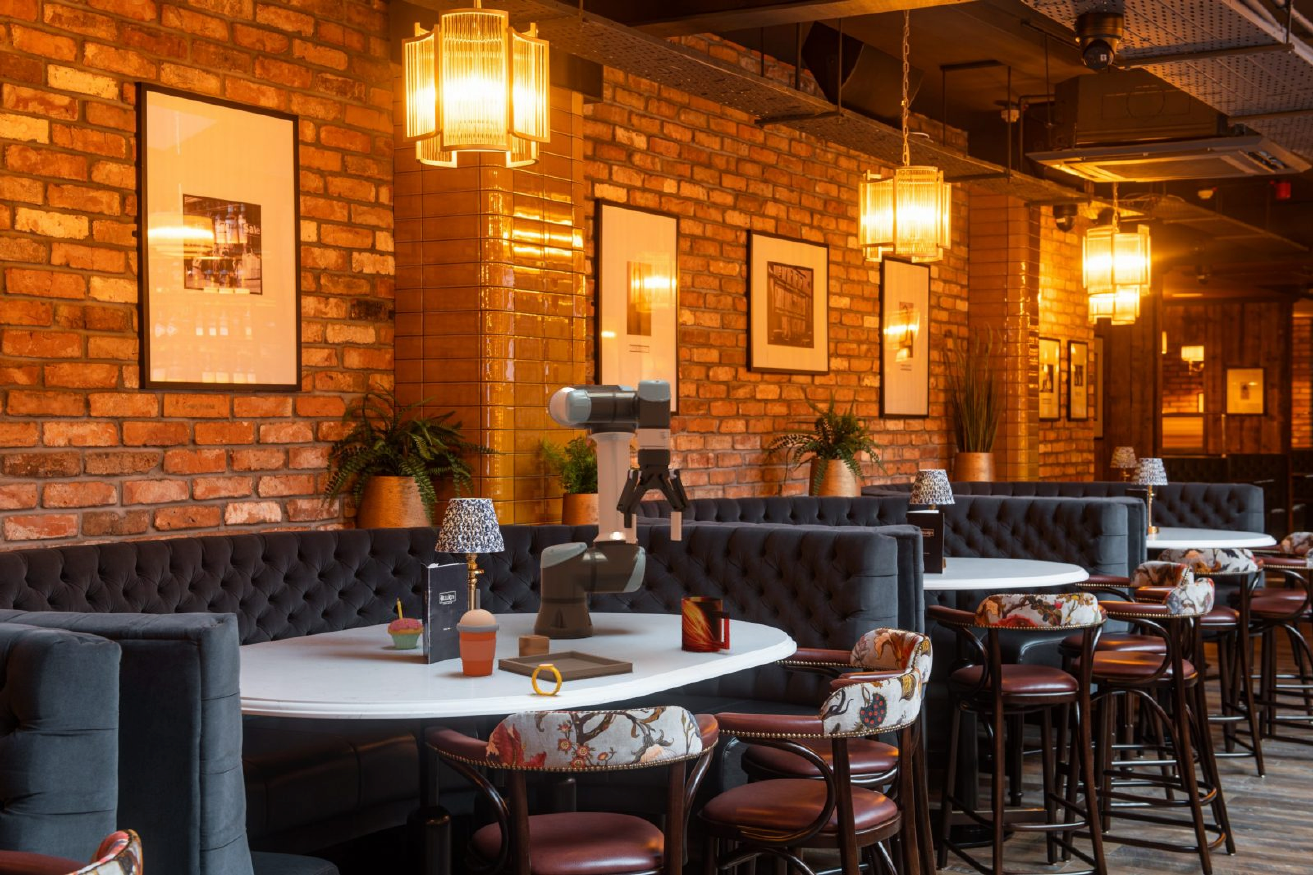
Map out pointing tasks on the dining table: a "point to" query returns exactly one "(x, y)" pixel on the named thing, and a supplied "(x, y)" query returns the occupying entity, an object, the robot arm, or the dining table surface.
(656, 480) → the robot arm
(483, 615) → the cup with straw
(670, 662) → the dining table surface
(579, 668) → the tray
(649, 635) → the dining table surface
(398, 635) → the cupcake
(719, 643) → the mug
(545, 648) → the walnut block
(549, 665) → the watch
